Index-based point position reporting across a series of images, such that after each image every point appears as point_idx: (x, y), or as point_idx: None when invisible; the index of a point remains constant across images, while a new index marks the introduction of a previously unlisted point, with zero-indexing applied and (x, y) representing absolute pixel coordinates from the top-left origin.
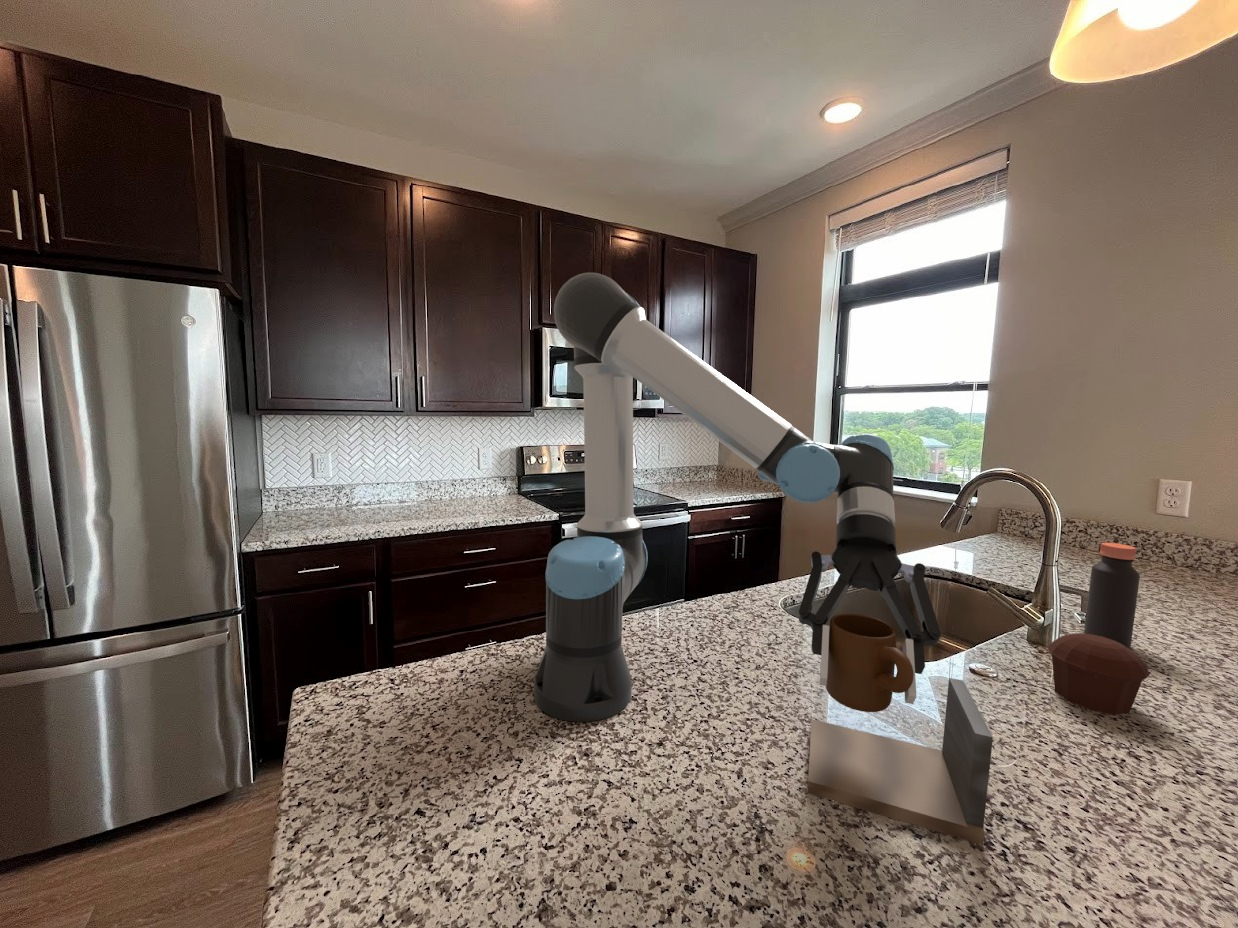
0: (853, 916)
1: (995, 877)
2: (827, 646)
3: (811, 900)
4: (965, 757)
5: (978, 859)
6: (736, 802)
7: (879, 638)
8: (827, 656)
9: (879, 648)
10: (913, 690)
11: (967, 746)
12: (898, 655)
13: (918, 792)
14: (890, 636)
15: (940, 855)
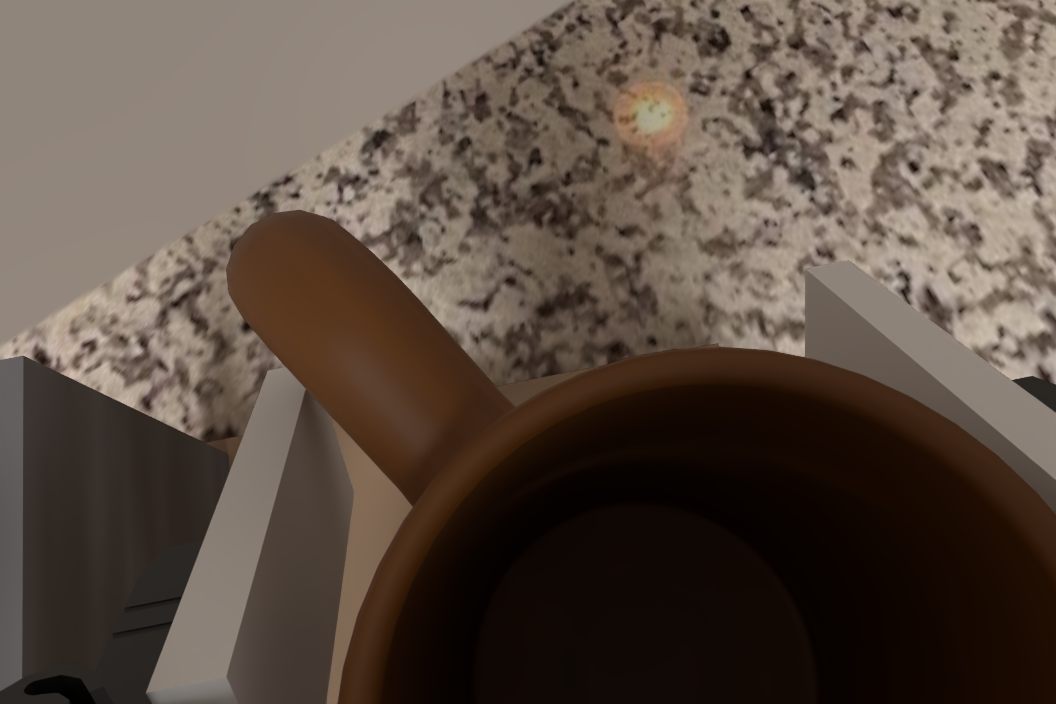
0: (508, 44)
1: (191, 346)
2: (940, 370)
3: (596, 29)
4: (138, 508)
5: (223, 388)
6: (878, 190)
7: (500, 427)
8: (887, 332)
9: (497, 412)
10: (277, 382)
11: (104, 486)
12: (317, 235)
13: (366, 522)
14: (390, 561)
15: None
